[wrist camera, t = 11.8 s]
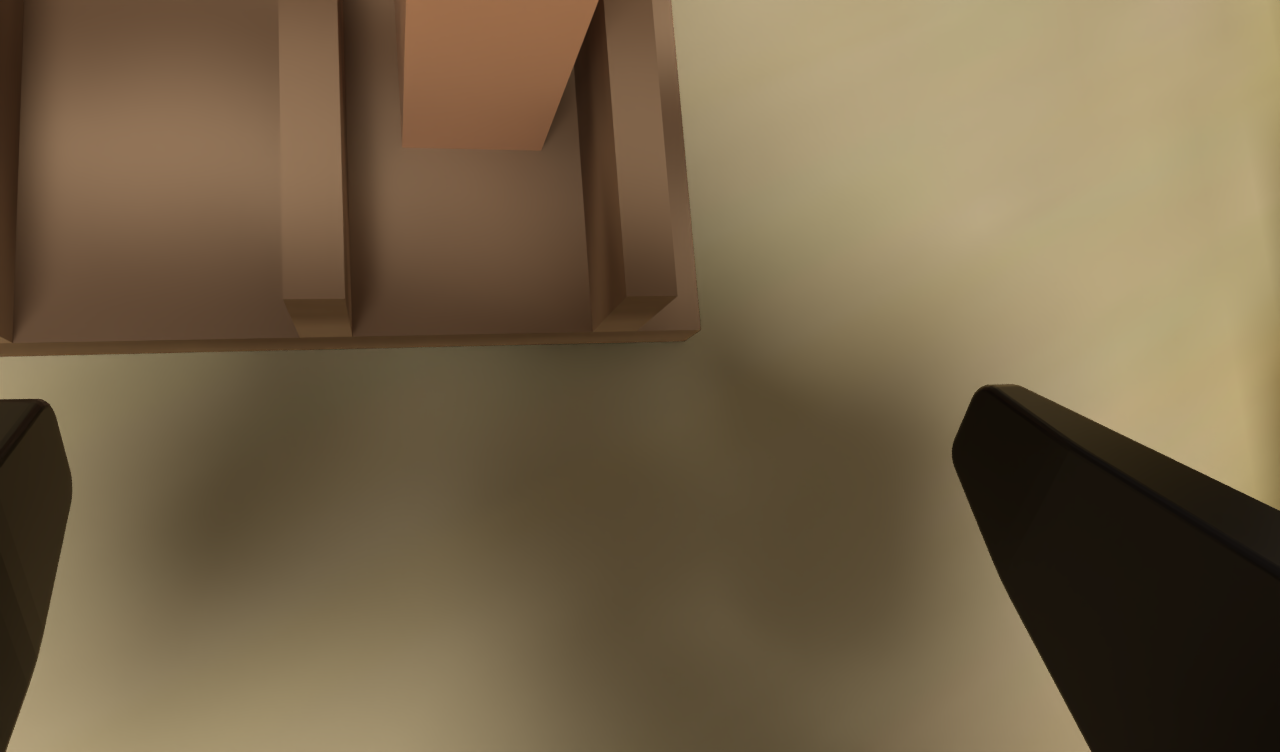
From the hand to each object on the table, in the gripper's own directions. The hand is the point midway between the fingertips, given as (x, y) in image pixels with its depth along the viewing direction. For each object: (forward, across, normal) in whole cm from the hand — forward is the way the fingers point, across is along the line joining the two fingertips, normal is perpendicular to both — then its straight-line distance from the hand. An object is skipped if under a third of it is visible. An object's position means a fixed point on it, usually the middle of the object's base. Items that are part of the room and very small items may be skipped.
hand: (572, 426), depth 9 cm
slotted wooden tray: (+14, +3, +2) cm, 15 cm away
